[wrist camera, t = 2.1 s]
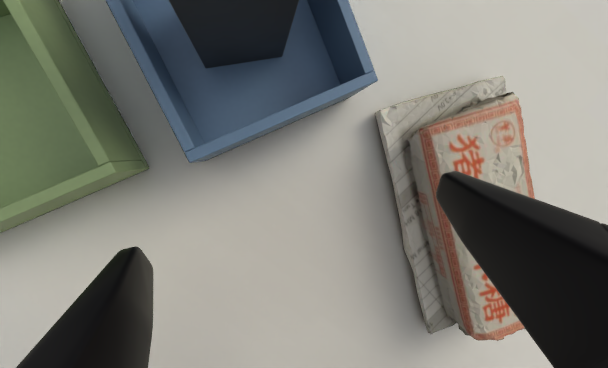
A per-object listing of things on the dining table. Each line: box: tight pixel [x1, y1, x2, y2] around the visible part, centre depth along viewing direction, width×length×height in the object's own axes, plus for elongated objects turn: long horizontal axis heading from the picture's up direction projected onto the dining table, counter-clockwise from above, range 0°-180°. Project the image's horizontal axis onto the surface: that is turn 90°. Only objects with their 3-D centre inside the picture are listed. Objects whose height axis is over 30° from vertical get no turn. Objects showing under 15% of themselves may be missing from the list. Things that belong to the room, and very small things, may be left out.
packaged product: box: [375, 76, 535, 341], centre depth 20 cm, size 18×5×10 cm
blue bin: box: [106, 0, 378, 163], centre depth 16 cm, size 13×11×5 cm
